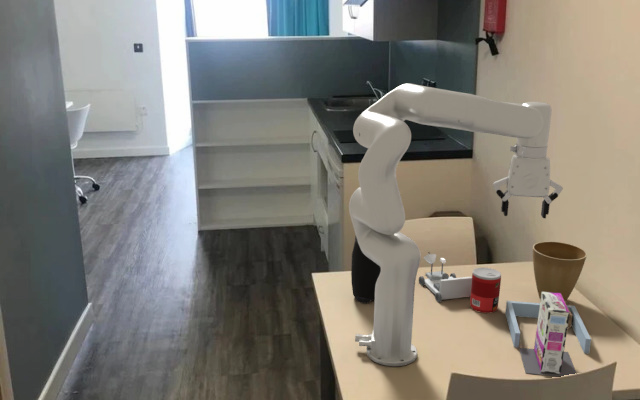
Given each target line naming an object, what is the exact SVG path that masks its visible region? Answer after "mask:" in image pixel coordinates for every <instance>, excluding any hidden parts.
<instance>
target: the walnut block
mask: <svg viewBox="0 0 640 400" xmlns="http://www.w3.org/2000/svg"><path fill="white" fill-rule="evenodd" d="M568 310H569V309H568ZM569 312H570V310H569ZM571 322H572V313H571V312H570V315H569V322H568V328H567V329H571V328H572V325H571Z"/></svg>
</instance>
